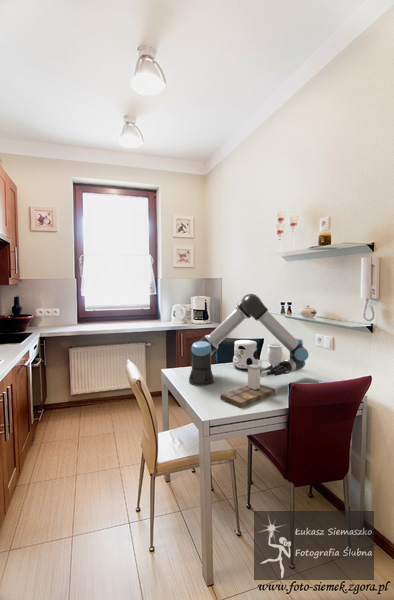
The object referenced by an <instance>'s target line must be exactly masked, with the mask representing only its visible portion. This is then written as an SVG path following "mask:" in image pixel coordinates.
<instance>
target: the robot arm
mask: <svg viewBox="0 0 394 600" xmlns="http://www.w3.org/2000/svg"><path fill="white" fill-rule="evenodd" d="M250 318H253V319H254V320H255V321H256V322H259V323H260V324H261V325H262V326H264V328H266V329H267V330H268V332H269V333H271V335H272V336H274V338H276V340H278V341H279V343H280V344H281V345H282V346H284V347H285V348H286V349H287V350H288V351H289V359H286V360H283V361H282V360H281V362H280V363H279V364H278V365H276V366H272V365H270V366H269V365H268V366H267V367H266V368H265V370H262V371H260V378H265V377H266V378H267V377H269V376H273V375H274V376H280V375H287V374H291V373H292V372H295V371H300V370H302V369H303V368H305V365H306V360H307V359H308V358H309V355H310V354H309V352H308V350H307V348H305V347H304V344H303V343H304V342H303V339H301V338H295V337H294V335H292V334H291V333H290V332H289V331H288V330H287V329H286V328H285V327H284V325H282V324H281V323H280V322H279V321H278V319H276V318H275V317H274V316H273V315H272V313H270V312H269V309H268V308H267V307H266V305H265V304H264V303H263V301H262V300H261V298H259V296H257V295H256V294H254V293H248V294H245V295H244V296H243V297H242V298H241V300H240V301H239V302H238V303H237V304H236V305H235V309H234V310H233V311H232V312H231V313H230V314H229V315H228V316H227V317H226V318H225V319H224V320H223V321H222V322H221V323H220V324H219V325H218V326H217V327H216V328H215V329H214V330H212V331H211V333H210V334H205V335H204V336H203V337H202V338H201V339H199V340H198V341H195V342H193V343H192V345H191V348H190V349H191V369H190V370H191V371H190V374H189V377H188V383H190V384H191V385H193V386H194V385H195V386H209V385H212V384H214V383H215V377H214V374H213V371H212V355H213V354H214V353H215V352H217V350H218V349H219V344H221V343H222V341H224V340H225V339H226V338H227V337H228V336H229V335H230V334H231V333H232V332H233V331H234V330H235V329H236V328H237V327H238V326H239V325H241V324H242V323H243V322H244V321H245V320H249V319H250Z"/></svg>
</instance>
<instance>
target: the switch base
mask: <svg viewBox="0 0 394 600" xmlns="http://www.w3.org/2000/svg"><path fill="white" fill-rule="evenodd" d="M276 391H277V389H276V388H273V387H270V386H268V385H264V384H261V383H260V388H259V389H256V390H254V389H251V388H249V387H248V384H247V385H244V386H242V387H239V388H238V387H237V388H236V389H233V390H229V391H226V392H224V393H221V394H220V395H219V397H220V398H219V399H220V400H222V401H224V402H226V403H229V404H230V405H233V406H236V407H239V408H243V407H246V406H248V405H251V404H254V403H256V402H258V401H261V400H263V399H266V398H269V397H271V396H274V395H276V394H277V392H276Z"/></svg>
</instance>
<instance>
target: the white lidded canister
mask: <svg viewBox="0 0 394 600" xmlns="http://www.w3.org/2000/svg"><path fill="white" fill-rule="evenodd" d="M247 368H248V369H247V385H248V387H249V388H251V389H254V390H256V389H259V388H260V384H261V369H262V366H261V365H259V364H258V365H254V364H252V365H248V366H247Z"/></svg>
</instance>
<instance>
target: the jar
mask: <svg viewBox="0 0 394 600" xmlns="http://www.w3.org/2000/svg"><path fill="white" fill-rule="evenodd" d="M266 352H267V361H268V367H269V366H270V365H272V366H276V365H278V364H279V363H280V362H282V358H283V344H282V343H280V344H279V343H268V344H267V351H266Z"/></svg>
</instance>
